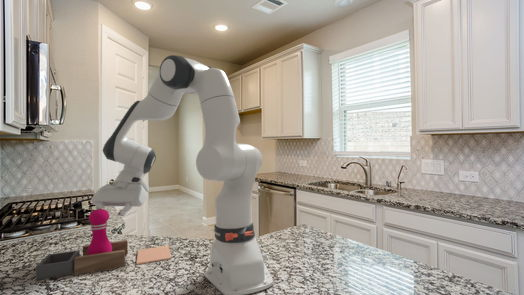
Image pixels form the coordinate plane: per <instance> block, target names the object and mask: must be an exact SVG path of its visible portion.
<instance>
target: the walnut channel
mask: <svg viewBox="0 0 524 295" xmlns="http://www.w3.org/2000/svg"><path fill="white" fill-rule="evenodd" d="M110 243H111V245H112V251H111V252H105V253H99V254H92V255H88V254H87V253H88V247H89V245H90V244H88V245H86V244H85V245H82V255H80V256H78V257H75V258H74V267H75V270H74V275H81V274H82V275H83V274H86V273H92V272H99V271H106V270H111V269H116V268H123V267H124V268H125V267H126V256H127V254H129V251H128V250H129V249H128V248H129V247H128V246H129V245H128V239H124V240H123V239H122V240H116V241H110Z"/></svg>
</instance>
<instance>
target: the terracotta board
mask: <svg viewBox="0 0 524 295" xmlns="http://www.w3.org/2000/svg"><path fill="white" fill-rule="evenodd" d="M136 256H137V257H136V264H135V265H136V266H138V265H143V263H145V264H149V262H151V263H155V261H157V262H162V261H168V260H172V255H171V251H170V245H163V246H156V247H155V246H154V247H150V248H149V247H148V248H143V249H138V250H137V255H136ZM167 259H168V260H167Z"/></svg>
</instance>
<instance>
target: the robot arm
mask: <svg viewBox="0 0 524 295" xmlns="http://www.w3.org/2000/svg"><path fill="white" fill-rule="evenodd" d="M147 93H148V94H147V95H146V96H145V97H144V98H143V99H141V100H136V101H135V102H133V103H132V105H131V106H130V107H129V108H128V110H127V111H126V113H125V114H124V116H123V117H122V119H121V120H120V121H119V123H118V124H117V126H116V128H115V130H114V131H113V133H112V134H111V136H110V137H108V139H107V140H106V141H105V143H104V144H103V148H102V153H103V155H104V157H105V158H106V159H107V160H109V161H113V162H117V163H119V164H122V165H123V169H122V170H121V171H120V172H119V173H118V175H117V176H116V178H115V180H114V181H113V183H111V184H109V183H106V184H105V185H102V186H101V187H100V188H98V190H96V191H95V193H94V194H93V195H92V197H91V200H90V201H91V204H93V205H94V206H95V207H96V206H97V205H101V206H102V208H101V209H104V208H105V207H123V208H122V209H119V211H118V213H117V214H118V216H119V217H125V215H126V213H128V212H129V211H130V210H132V208H133V207H141V206H142V205H144V204H145V202H146V200H147V196H148V192H149V191H150V187H149V185H148V183H147V182H146V181H145V180H144V179H143V178H144V177H145V175H146V174H147V173H149V172H150V171H151V169H152V167H153V165H154V164H155V162H156V159H157V156H156V152H155V150H154V149H153V148H151V147H150V146H147V145H145V144H142V143H139V142H136V141H134V140H132V139H129V137H127V134H128V133H129V131H130V129H131V128H132V126H134V124H135V122H138V121H152V122H161V121H166V120H168V119H171V118H172V117H173V116H174V115H175V113H176V111H177V109H178V107H179V105H180V103H181V100H182V97H183V96H184V95H185V94H189V95H195V96H198V99H199V104H200V108H201V109H200V110H201V113H202V119H203V123H204V131H205V132H204V134H205V135H204V142H203V145H202V147H201V148H200V150H199V152H197V155H196V159H195V165H196V170H197V173H198V174H199V175H200V176H201V177H202V179H204V180H206V181H207V180H208V181H214V182H223V184H222V188H221V190H220V191H219V193H218V194H217V196H216V198H215V201H214V205H215V206H214V207H215V208H214V210H215V211H214V212H215V224H214V229H213V232H214V238H215V239H214V241H213V242H212V243H211V245H210V247H209V269H206V271H204V274H203V275H204V277H205V278H206V279H207V280H208V281H209V282H210V283H211V284H212V285H213V286H214V287H215V288H216V289H217V290H218V291H220V292H221V293H222V294H223V295H249V294H250V295H251V294H254V293H257V292H261V291H264V290H266V289H269V288H271V287H272V286H273V285H274V280H273V277H272V275H271V273H270V271H269V270H268V267H267V266H266V263H265V262H267V261H268V256H267V253H266V252H263V253H262V252H261V251H262V245H261V244H260V245H259V244H258V241H257V238H256V237H255V236H256V234H255V227H254V223H253V219H252V218H253V217H252V215H253V214H252V213H253V212H252V200H253V199H252V197H253V190H254V185H255V181H256V178H257V175H258V172H259V170H260V169H261V168H262V165H263V156H262V153H261V151H260V150H259V148H257V147H256V146H253V145H250V144H248V143H238V142H237V141H236V140H237V139H236V135H237V134H236V132H237V128H238V127H239V125H240V124H241V119H240V114H239V111H238V110H239V109H238V106H237V105H238V104H237V103H236V98H235V95H234V90H233V89H232V85H231V82H230V81H229V78H228V76H227V74H226V72H225V71H223V70H222V69H220V68H217V67H211V66H207V65H206V64H204V63H201V62H199V61H198V60H194V59H191V58H188V57H184V56H181V55H177V54H173V55H172V54H171V55H167V56H165V58H163V60H162V62H161V64H160V66H159V72H158V73H157V75H156V77H155V79H154V80H153V82H152V85H151V86H150V88H149V91H148V92H147Z"/></svg>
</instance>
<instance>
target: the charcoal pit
mask: <svg viewBox="0 0 524 295" xmlns="http://www.w3.org/2000/svg"><path fill="white" fill-rule="evenodd" d="M78 256H81V251H80V249H79V250H78V249H77V250H71V251H65V252H64V251H63V252H57V253H56V252H55V253H51V254H50V253H49V254H47V255H46V256H45V257H44V258H43V259H42V260H41V261H40V262H39V263H38V264H36V266H35V280H36V281H38V280H44V279H51V278H57V277H62V276H69V275H73V273H74V272H75V267H74V258H75V257H78Z"/></svg>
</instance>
